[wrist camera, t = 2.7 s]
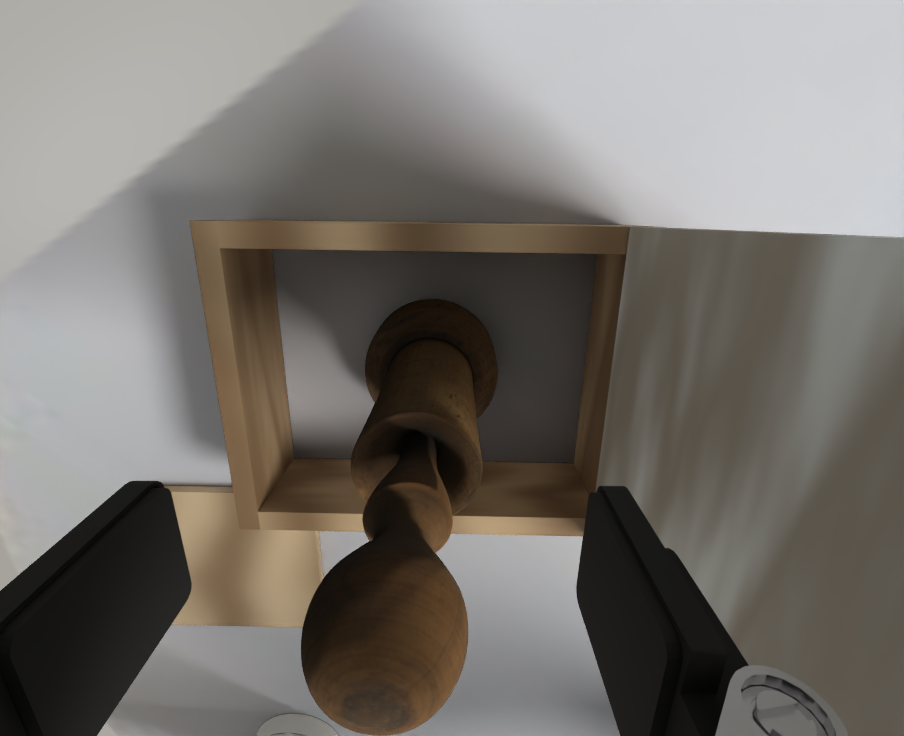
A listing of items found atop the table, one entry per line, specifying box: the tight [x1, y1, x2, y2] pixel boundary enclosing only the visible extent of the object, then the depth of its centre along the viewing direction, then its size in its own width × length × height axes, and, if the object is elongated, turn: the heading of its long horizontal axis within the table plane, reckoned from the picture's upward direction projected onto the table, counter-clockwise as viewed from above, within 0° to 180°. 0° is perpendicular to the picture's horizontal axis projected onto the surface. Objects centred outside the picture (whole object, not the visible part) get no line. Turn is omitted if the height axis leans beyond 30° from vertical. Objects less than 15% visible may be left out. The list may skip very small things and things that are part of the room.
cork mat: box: [164, 486, 323, 627], centre depth 28 cm, size 10×10×1 cm
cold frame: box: [190, 220, 904, 736], centre depth 14 cm, size 22×14×22 cm, turn 89°
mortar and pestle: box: [301, 299, 497, 735], centre depth 16 cm, size 7×6×18 cm
